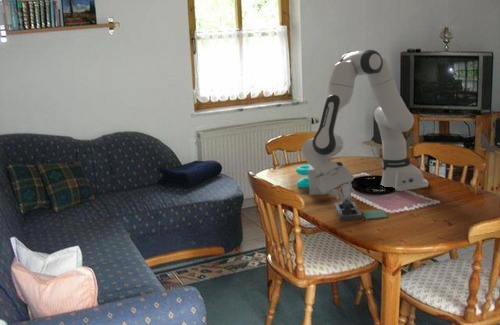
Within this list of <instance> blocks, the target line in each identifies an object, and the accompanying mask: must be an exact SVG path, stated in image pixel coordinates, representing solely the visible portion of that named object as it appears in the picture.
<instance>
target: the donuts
mask: <svg viewBox="0 0 500 325" xmlns="http://www.w3.org/2000/svg"><path fill="white" fill-rule="evenodd" d="M309 166H311V165H310V164H302V165H299V166H297V167H296V169H295V171H296V173H297V174H298V175H300V176H308V169H309ZM296 186H297V187H298V188H300V189H309V177H301V178H300V179H298V180H297V182H296Z"/></svg>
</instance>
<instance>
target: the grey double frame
mask: <svg viewBox="0 0 500 325" xmlns="http://www.w3.org/2000/svg"><path fill="white" fill-rule="evenodd" d="M351 203H352V208H348V209H341V202H335V203H334V209H335V211H336V214H337V217H338V218H339V221H340V222H345V221H357V220H363V214H362V212H361V210H360V209H359V208H358V205H357V203H356V202H355V201H351Z"/></svg>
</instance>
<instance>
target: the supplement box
mask: <svg viewBox="0 0 500 325" xmlns="http://www.w3.org/2000/svg"><path fill="white" fill-rule="evenodd" d="M316 175H317V173H316V172H315V171H314V168H313V167H312V166H309V169H308V175H307V176H308V177H307V178H309V188H308V189H309V193H308V194H309V195H311V196H315V195H317V196H318V195H319V196H321V195H322V196H323V195H325V194H323V193H322V192H321V191H320V189H319V188H318V186H317V184H316V182H315V180H314V177H315V176H316Z"/></svg>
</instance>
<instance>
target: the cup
mask: <svg viewBox="0 0 500 325" xmlns="http://www.w3.org/2000/svg"><path fill="white" fill-rule="evenodd" d="M351 185H352V183H351V184H349V183H342V184H340V188H339V192H340V193H339V194H340V195H341V198H340V203H341V209H348V208H352V203H351V202H352V193H351Z"/></svg>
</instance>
